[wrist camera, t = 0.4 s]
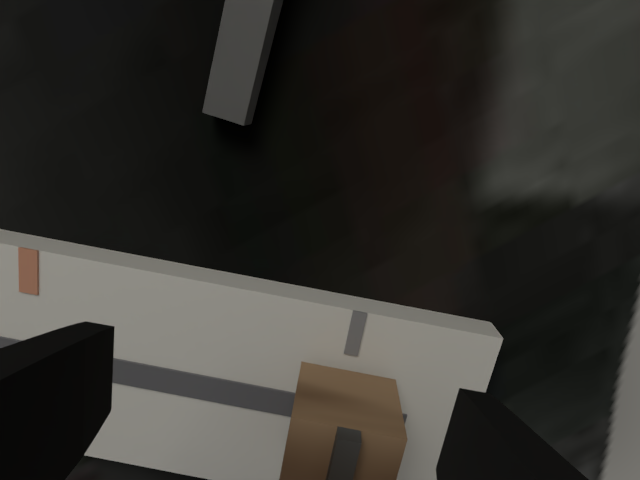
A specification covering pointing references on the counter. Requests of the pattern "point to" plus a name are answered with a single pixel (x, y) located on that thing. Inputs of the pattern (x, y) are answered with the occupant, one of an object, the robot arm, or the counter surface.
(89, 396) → the robot arm
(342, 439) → the slider cap
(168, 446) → the fader console
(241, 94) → the black handgun
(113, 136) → the counter surface
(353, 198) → the counter surface
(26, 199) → the counter surface
